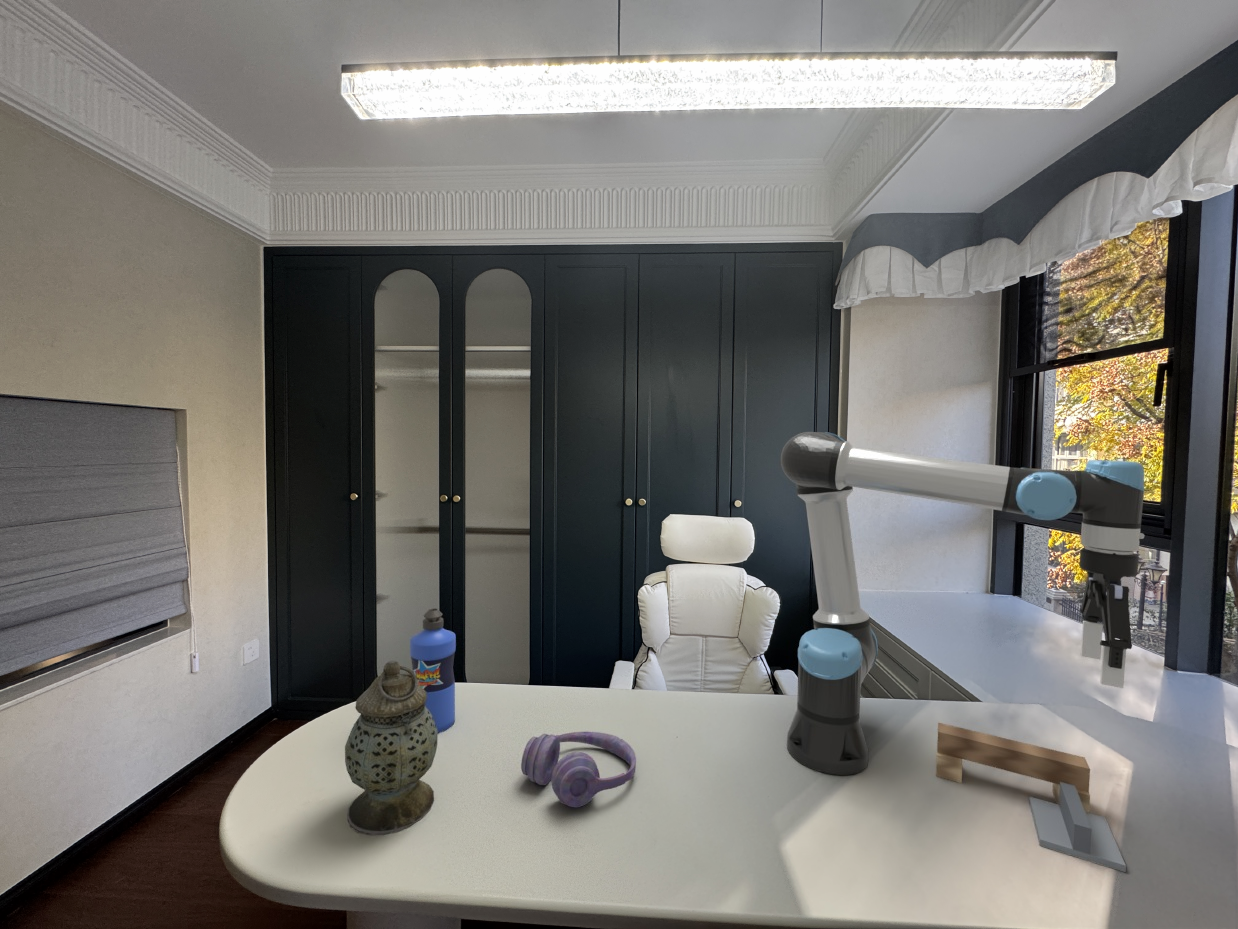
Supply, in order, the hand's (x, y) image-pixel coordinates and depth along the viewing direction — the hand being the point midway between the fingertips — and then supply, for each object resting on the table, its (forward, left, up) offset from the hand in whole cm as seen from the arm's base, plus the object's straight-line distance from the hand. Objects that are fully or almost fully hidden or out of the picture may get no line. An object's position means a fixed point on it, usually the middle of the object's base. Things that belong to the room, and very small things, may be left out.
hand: (1100, 670), depth 95 cm
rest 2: (-4, -4, -23) cm, 24 cm away
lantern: (-102, -66, -23) cm, 124 cm away
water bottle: (-118, -44, -23) cm, 128 cm away
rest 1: (-22, -4, -23) cm, 32 cm away
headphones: (-80, -42, -23) cm, 93 cm away
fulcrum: (-5, -13, -23) cm, 27 cm away
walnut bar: (-13, -4, -19) cm, 23 cm away
